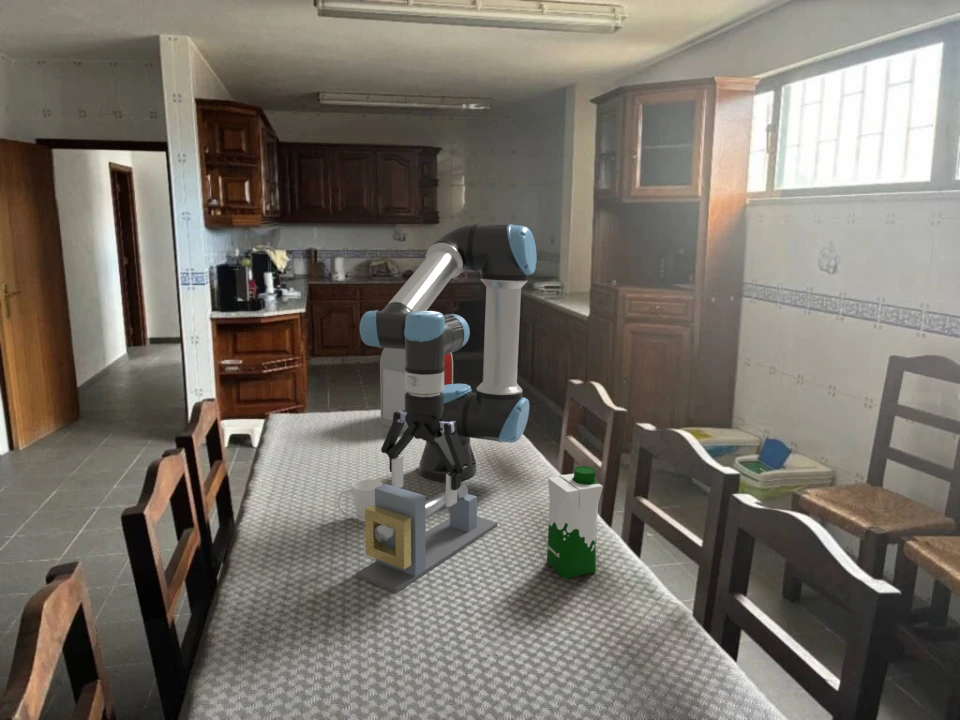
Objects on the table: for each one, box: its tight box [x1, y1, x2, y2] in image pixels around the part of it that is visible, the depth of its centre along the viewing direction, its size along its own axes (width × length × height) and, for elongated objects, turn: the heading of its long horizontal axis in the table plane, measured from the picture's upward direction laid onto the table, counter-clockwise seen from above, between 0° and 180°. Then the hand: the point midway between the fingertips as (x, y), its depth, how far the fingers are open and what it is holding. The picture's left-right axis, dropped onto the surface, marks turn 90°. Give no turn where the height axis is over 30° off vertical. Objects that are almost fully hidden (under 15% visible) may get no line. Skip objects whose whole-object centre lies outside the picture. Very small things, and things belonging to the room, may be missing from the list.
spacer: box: [364, 505, 411, 569], centre depth 132 cm, size 2×10×10 cm, turn 56°
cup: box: [337, 478, 383, 522], centre depth 158 cm, size 7×10×8 cm
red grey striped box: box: [379, 348, 454, 433], centre depth 226 cm, size 17×18×27 cm
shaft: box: [375, 482, 469, 542], centre depth 141 cm, size 26×3×3 cm, turn 146°
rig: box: [355, 483, 498, 594], centre depth 143 cm, size 34×10×16 cm, turn 146°
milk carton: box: [546, 465, 604, 580], centre depth 137 cm, size 9×9×20 cm
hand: (423, 496), depth 140 cm, fingers open, 13 cm apart
